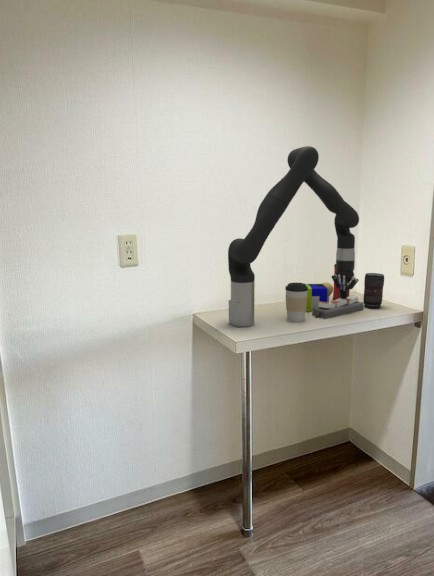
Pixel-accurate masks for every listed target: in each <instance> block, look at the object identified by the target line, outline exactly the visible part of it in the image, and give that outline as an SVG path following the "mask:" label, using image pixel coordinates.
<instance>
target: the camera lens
mask: <svg viewBox="0 0 434 576" xmlns="http://www.w3.org/2000/svg"><path fill="white" fill-rule="evenodd" d="M363 283H364V288H363V303H364V306H363V308H366V309H370V310H371V309H372V310H375V309H376V310H378V309H380V308H381V305H382V301H383V296H384V295H383V294H384V293H383V292H384V284H385V274H383V273H376V272H367V273H365V275H364V282H363Z"/></svg>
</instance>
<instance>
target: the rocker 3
mask: <svg viewBox="0 0 434 576" xmlns="http://www.w3.org/2000/svg"><path fill="white" fill-rule="evenodd" d="M346 300H347V304H348V305H350V304H353V303H355V302H357V301H359V296H356V295H349V297H347V298H346Z"/></svg>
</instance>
